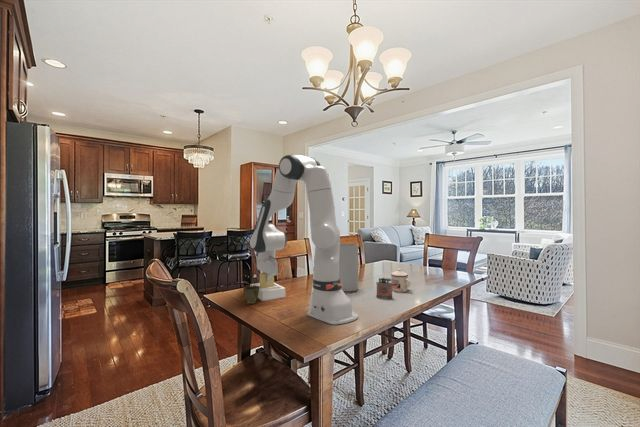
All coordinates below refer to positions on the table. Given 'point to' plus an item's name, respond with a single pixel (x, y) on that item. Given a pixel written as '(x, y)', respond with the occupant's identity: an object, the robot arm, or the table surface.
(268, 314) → the table surface
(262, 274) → the panel
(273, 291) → the rack
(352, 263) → the cylinder vase
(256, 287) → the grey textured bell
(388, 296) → the lighter
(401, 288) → the teacup with lid
